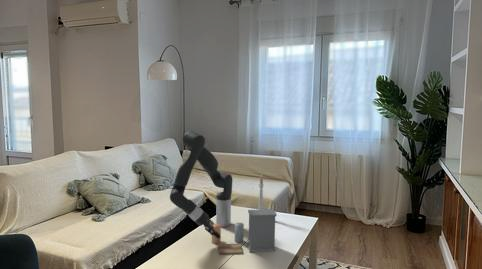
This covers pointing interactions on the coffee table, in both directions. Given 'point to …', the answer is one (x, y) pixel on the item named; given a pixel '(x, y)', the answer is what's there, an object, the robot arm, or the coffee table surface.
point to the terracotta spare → (218, 230)
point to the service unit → (261, 230)
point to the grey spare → (239, 232)
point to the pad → (230, 249)
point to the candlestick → (261, 193)
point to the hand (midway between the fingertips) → (219, 234)
